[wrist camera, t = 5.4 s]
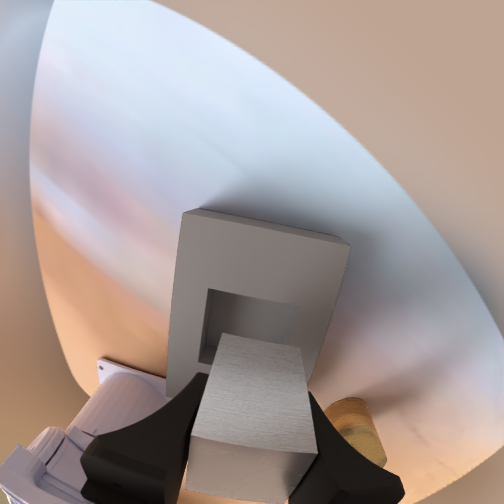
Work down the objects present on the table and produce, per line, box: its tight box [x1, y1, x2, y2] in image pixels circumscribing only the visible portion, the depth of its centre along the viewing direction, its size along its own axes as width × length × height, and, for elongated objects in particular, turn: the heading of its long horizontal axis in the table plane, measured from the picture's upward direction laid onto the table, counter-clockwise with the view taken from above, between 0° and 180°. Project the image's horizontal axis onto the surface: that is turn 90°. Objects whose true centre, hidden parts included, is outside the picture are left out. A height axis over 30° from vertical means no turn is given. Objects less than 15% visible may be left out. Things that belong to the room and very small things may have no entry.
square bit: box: [185, 333, 318, 504], centre depth 11 cm, size 4×4×7 cm
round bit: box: [324, 398, 387, 468], centre depth 20 cm, size 4×4×7 cm
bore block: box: [166, 208, 351, 398], centre depth 20 cm, size 14×10×4 cm
